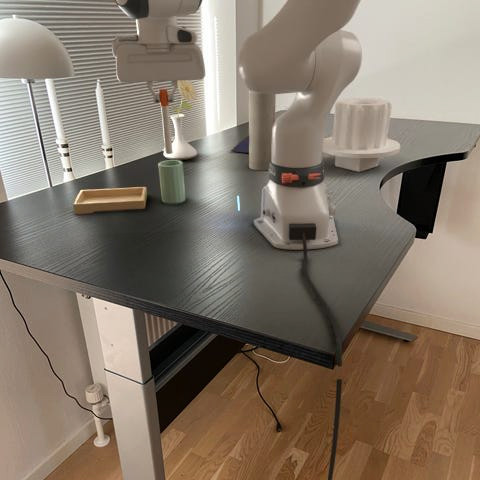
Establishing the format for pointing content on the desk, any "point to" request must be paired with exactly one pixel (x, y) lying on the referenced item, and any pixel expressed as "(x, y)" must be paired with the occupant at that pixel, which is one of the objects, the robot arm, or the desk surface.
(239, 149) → the blue flat triangle
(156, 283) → the desk surface
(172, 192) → the pen cup
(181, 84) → the flower in vase
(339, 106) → the flanged gear
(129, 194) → the tray
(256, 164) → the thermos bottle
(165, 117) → the marker
